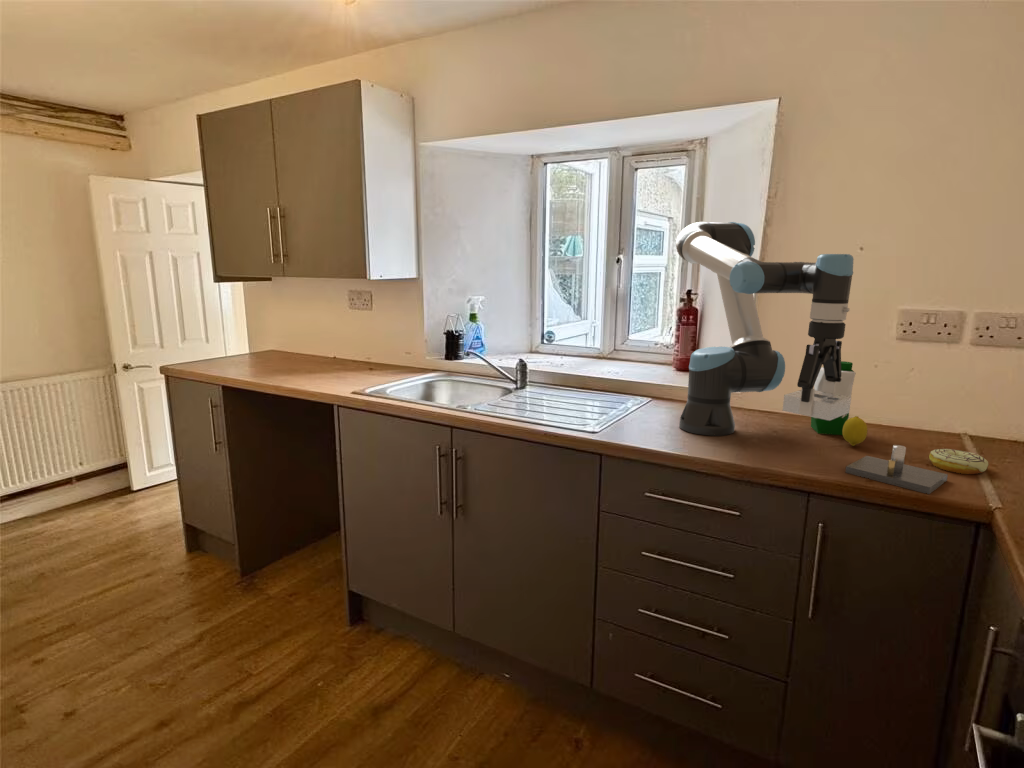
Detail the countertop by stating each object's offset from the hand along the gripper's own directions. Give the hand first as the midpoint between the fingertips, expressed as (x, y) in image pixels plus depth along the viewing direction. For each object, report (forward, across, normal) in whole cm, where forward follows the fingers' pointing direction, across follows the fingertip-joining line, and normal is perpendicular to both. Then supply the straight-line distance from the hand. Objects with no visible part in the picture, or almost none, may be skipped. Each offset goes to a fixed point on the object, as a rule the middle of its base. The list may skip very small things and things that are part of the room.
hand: (816, 410), depth 138 cm
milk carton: (+12, +26, +7) cm, 29 cm away
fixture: (+11, 0, -18) cm, 22 cm away
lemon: (+12, +17, -3) cm, 21 cm away
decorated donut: (+12, +18, -25) cm, 33 cm away
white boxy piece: (0, 0, 0) cm, 0 cm away
